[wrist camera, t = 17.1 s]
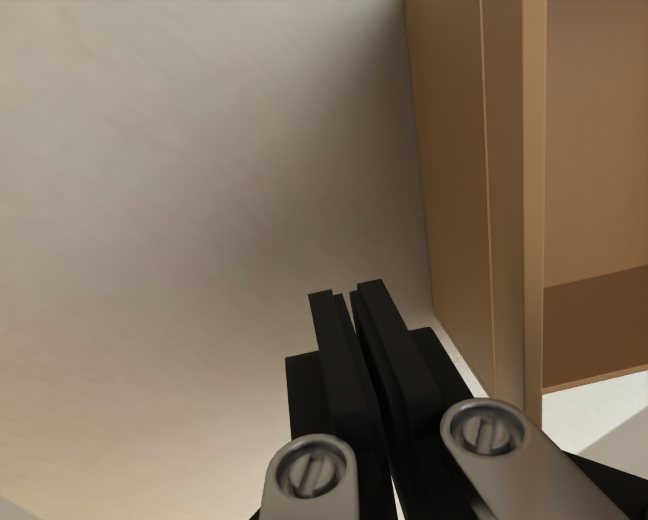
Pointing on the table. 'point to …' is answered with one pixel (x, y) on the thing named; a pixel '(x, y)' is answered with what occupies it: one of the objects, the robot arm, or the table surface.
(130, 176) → the table surface
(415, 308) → the table surface
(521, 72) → the carton flap
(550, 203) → the carton
